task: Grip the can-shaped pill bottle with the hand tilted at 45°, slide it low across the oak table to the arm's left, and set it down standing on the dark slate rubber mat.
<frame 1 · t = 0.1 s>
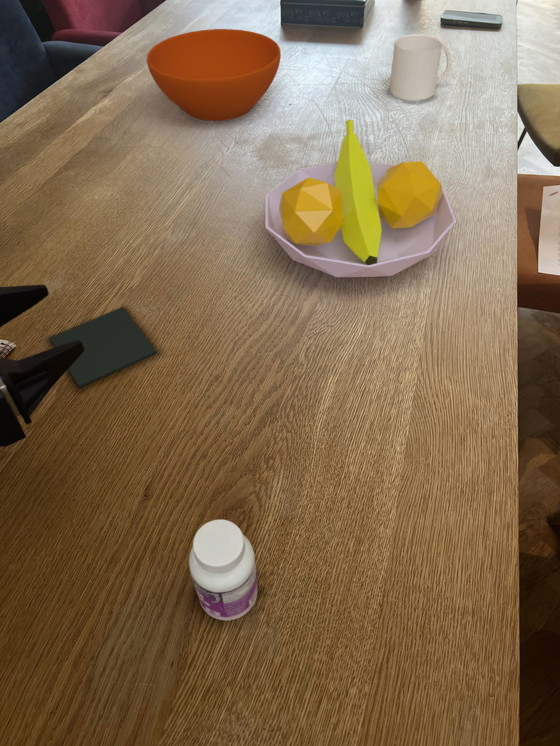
hand: (64, 315, 56), 16 cm above the table, tool horizontal, fingers open, 9 cm apart
bowl: (219, 106, 122), on the table
mug: (418, 92, 124), on the table
mat: (102, 346, 76), on the table
fruit bowl: (356, 238, 91), on the table
pill bottle: (228, 593, 55), on the table
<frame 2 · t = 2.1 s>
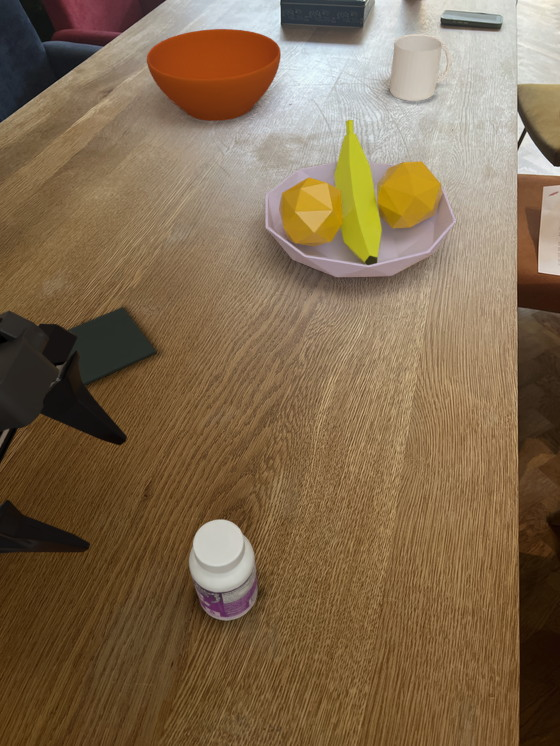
hand: (106, 491, 46), 14 cm above the table, tool tilted 45°, fingers open, 9 cm apart
nothing on the table moved.
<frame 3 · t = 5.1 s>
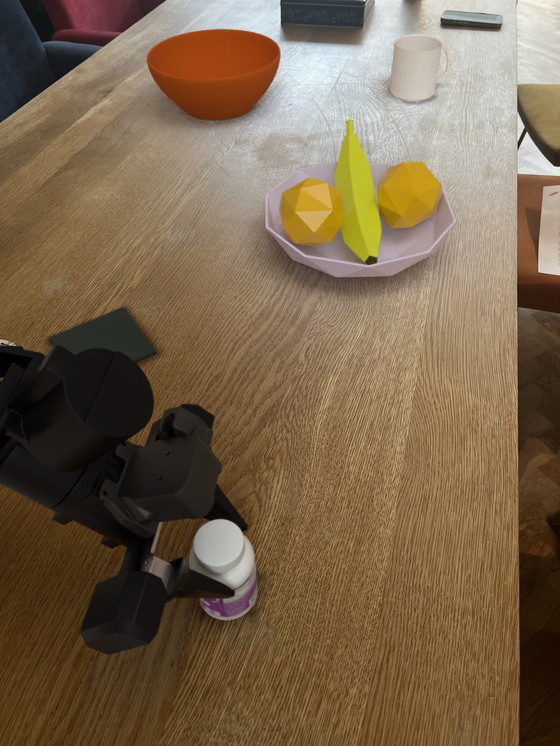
hand: (238, 561, 50), 7 cm above the table, tool tilted 45°, fingers closed on pill bottle, 5 cm apart
pill bottle: (228, 593, 55), on the table, touching gripper
everything else where it was.
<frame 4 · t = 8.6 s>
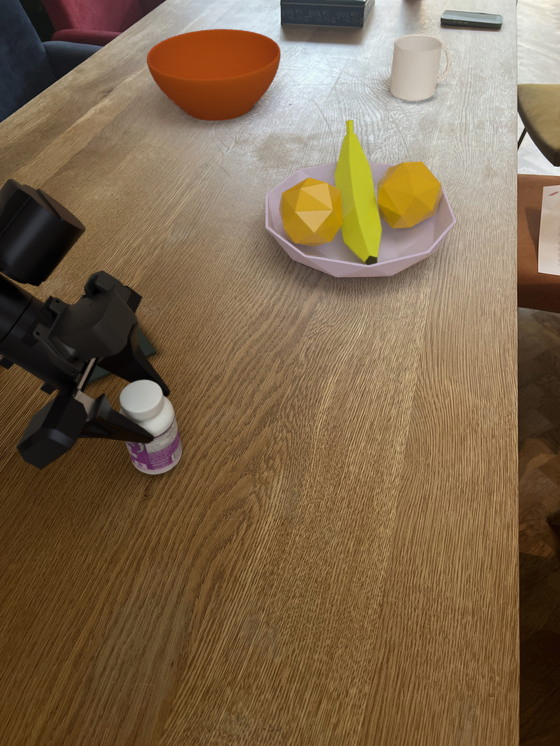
hand: (159, 417, 59), 7 cm above the table, tool tilted 45°, fingers closed on pill bottle, 5 cm apart
pill bottle: (157, 456, 64), point 1 cm above the table, touching gripper
everything else where it was.
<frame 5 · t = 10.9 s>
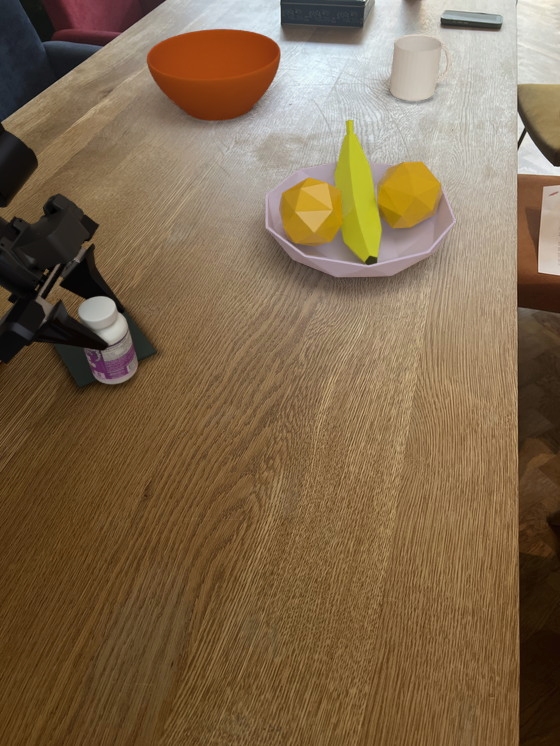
hand: (114, 329, 67), 8 cm above the table, tool tilted 45°, fingers closed on pill bottle, 5 cm apart
pill bottle: (116, 370, 72), point 1 cm above the table, touching gripper
everything else where it was.
when the fingers open (7 cm above the table, at t = 12.4 s): pill bottle stays where it is, resting on mat.
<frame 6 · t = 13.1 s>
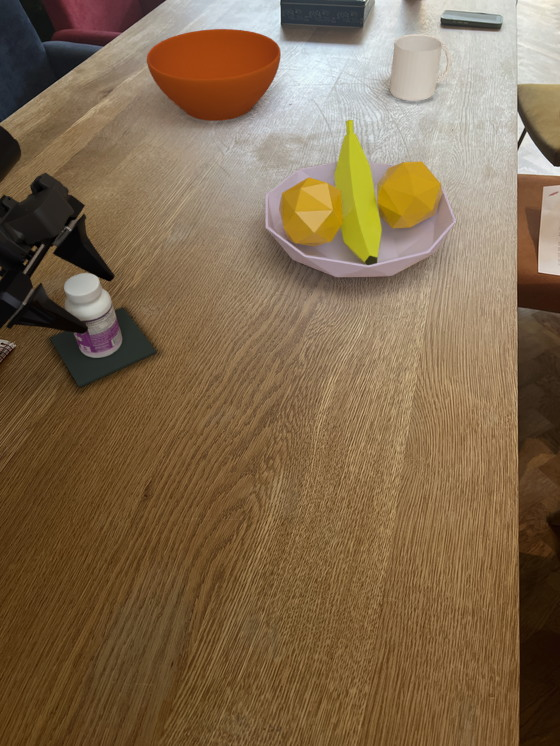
hand: (100, 303, 71), 7 cm above the table, tool tilted 45°, fingers open, 9 cm apart
pill bottle: (101, 345, 76), resting on mat
everything else where it was.
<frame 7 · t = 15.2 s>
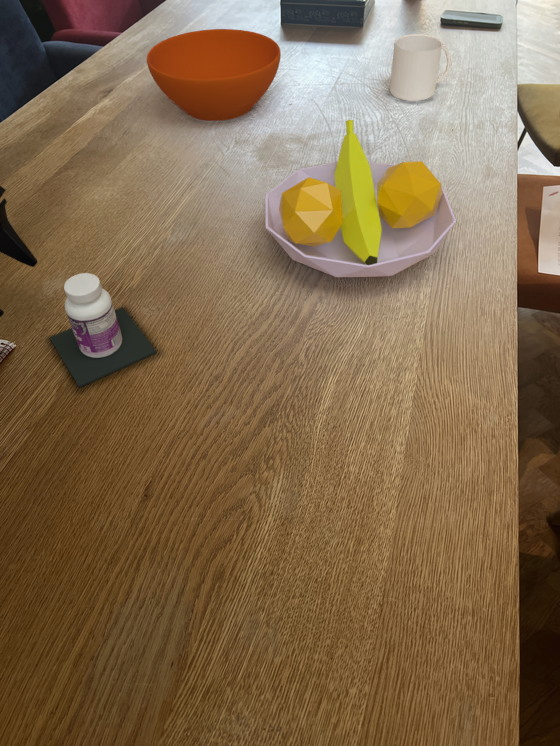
hand: (19, 288, 71), 9 cm above the table, tool tilted 45°, fingers open, 9 cm apart
nothing on the table moved.
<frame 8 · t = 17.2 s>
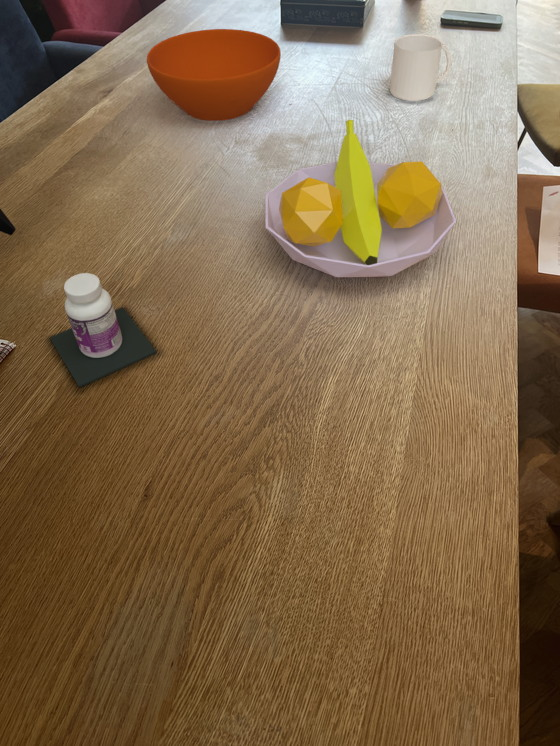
nothing on the table moved.
at the end: pill bottle inside the target area on the mat (0.1 cm from its centre), point 0.2 cm above the mat's base; pill bottle tilted 0°; the gripper is holding nothing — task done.
